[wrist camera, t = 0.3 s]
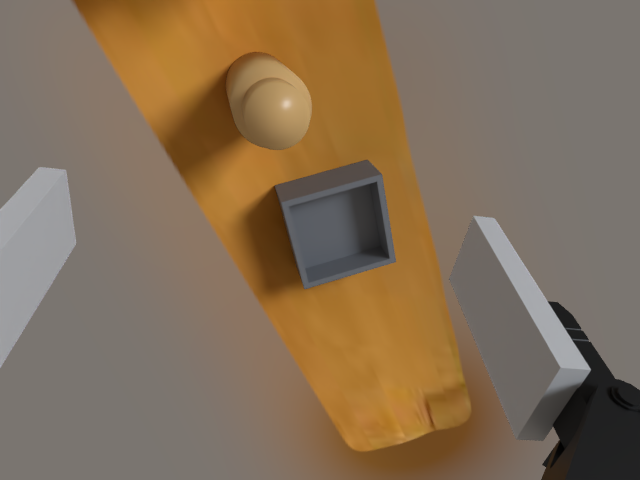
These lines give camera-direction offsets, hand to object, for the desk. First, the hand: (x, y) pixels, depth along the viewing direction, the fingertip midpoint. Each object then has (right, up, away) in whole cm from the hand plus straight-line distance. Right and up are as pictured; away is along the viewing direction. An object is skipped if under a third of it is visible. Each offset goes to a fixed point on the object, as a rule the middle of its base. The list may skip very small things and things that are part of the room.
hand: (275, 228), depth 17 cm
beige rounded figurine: (-3, +12, +23) cm, 26 cm away
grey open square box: (+2, +2, +29) cm, 29 cm away
